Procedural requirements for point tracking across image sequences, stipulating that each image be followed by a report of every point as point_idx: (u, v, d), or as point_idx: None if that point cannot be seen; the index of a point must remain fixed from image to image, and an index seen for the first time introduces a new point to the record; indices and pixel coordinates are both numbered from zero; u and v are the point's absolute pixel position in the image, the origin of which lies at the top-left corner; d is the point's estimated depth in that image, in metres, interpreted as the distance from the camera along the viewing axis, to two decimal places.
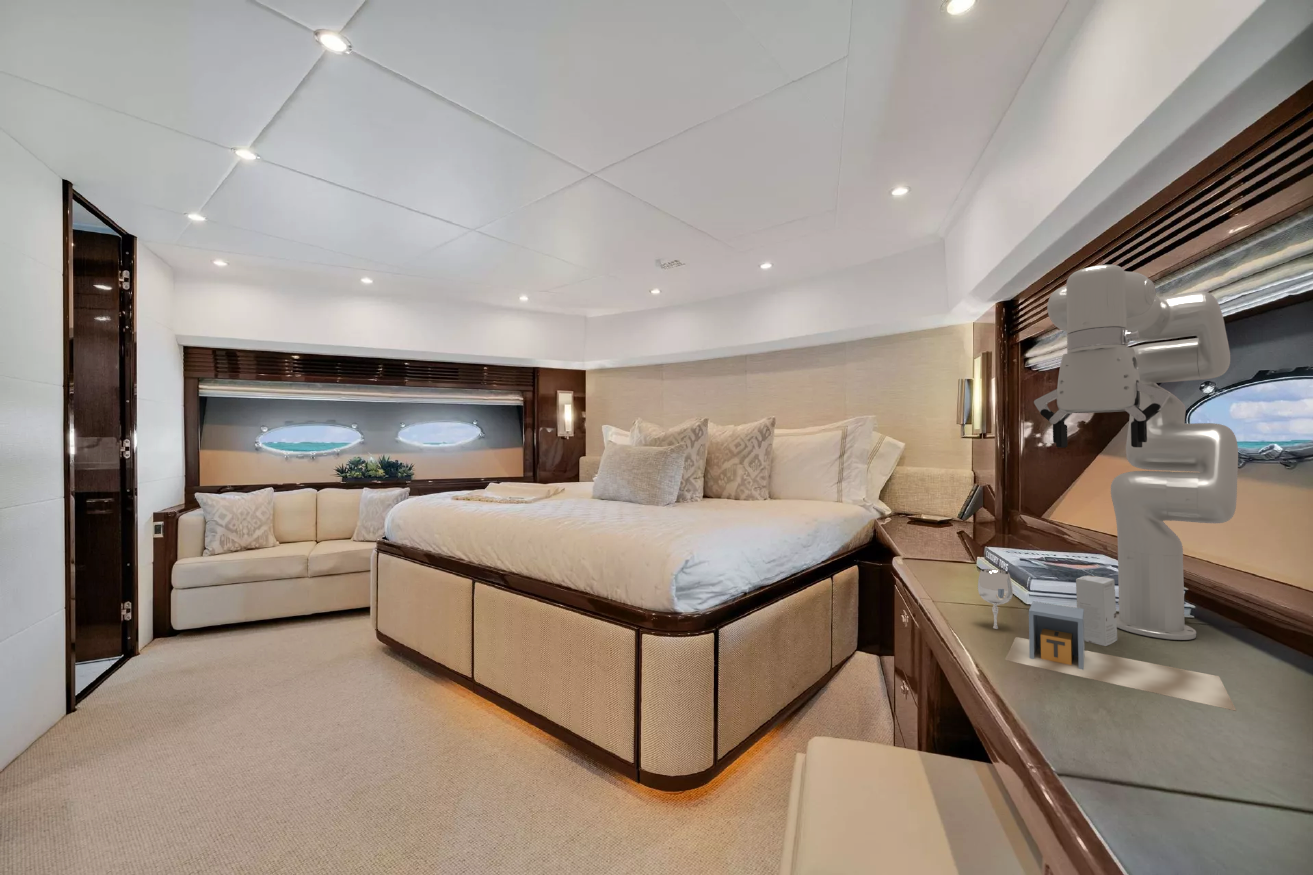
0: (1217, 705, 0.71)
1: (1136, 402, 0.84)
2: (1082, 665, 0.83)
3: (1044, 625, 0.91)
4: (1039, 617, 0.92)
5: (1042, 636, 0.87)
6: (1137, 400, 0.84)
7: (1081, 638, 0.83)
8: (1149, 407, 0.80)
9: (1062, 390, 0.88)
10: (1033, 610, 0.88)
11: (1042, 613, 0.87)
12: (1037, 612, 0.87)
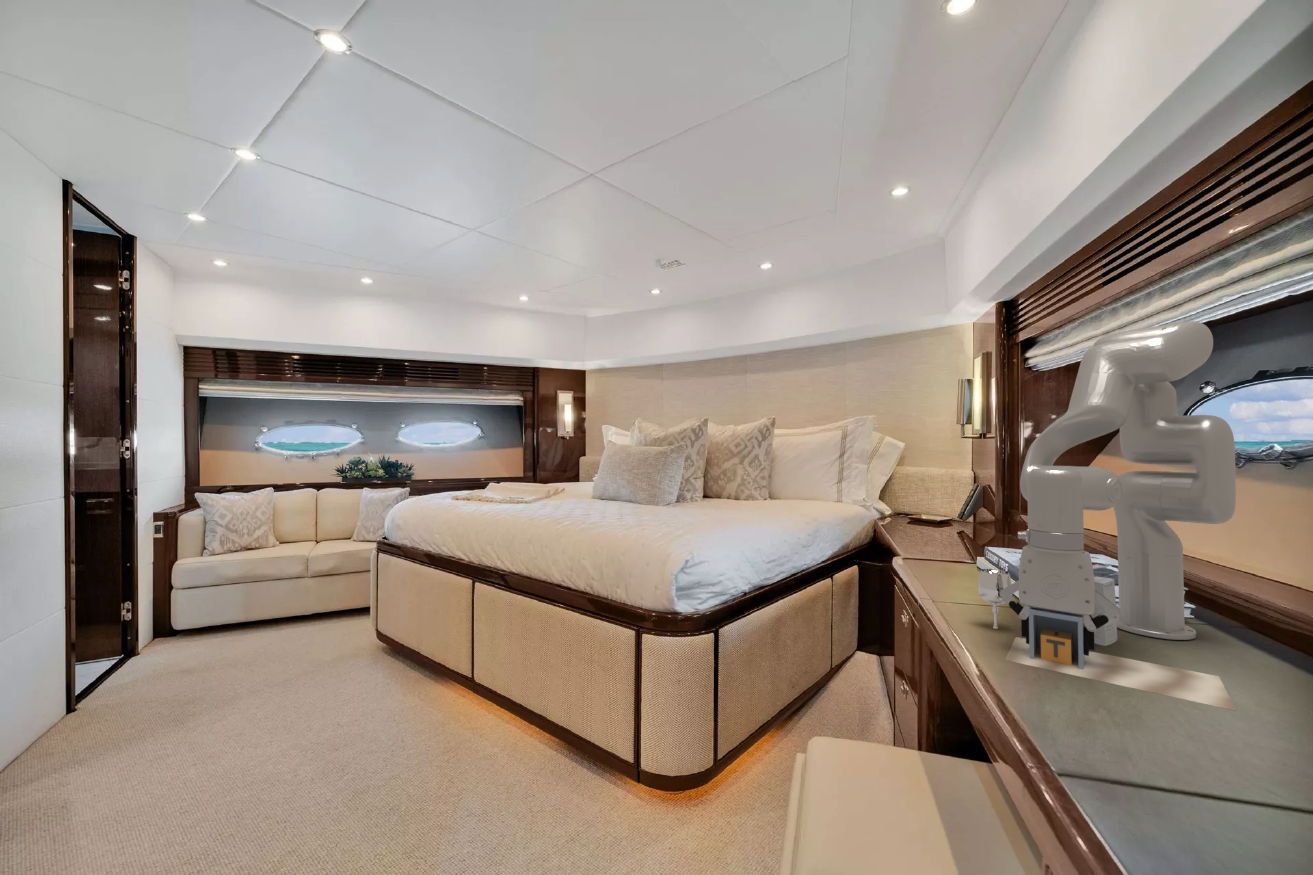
0: (1217, 705, 0.71)
1: (1023, 598, 0.89)
2: (1082, 665, 0.83)
3: (1044, 625, 0.91)
4: (1039, 617, 0.92)
5: (1042, 636, 0.87)
6: (1022, 596, 0.89)
7: (1081, 638, 0.83)
8: (1017, 603, 0.92)
9: None
10: (1033, 610, 0.88)
11: (1042, 613, 0.87)
12: (1037, 612, 0.87)
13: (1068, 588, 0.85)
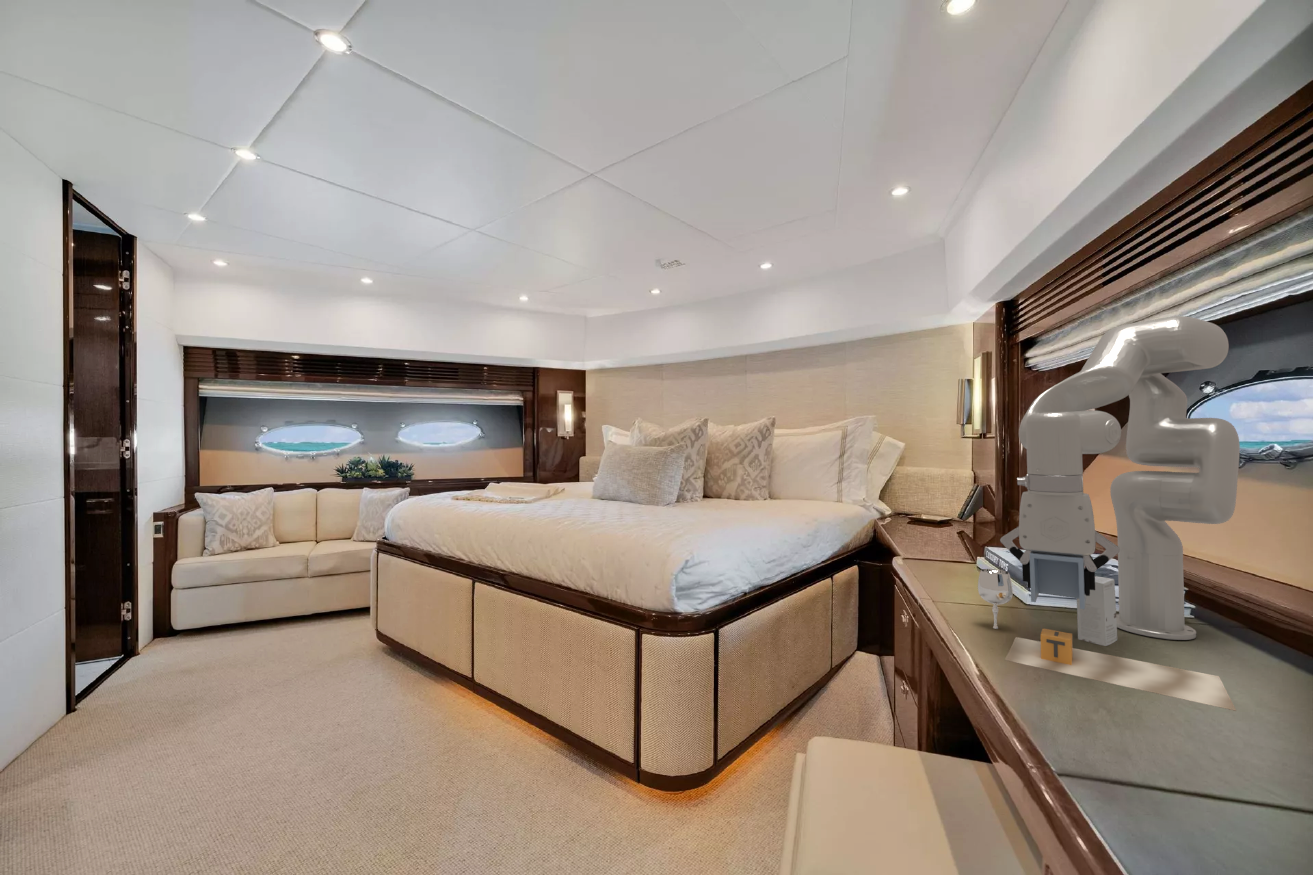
0: (1217, 705, 0.71)
1: (1023, 543, 0.89)
2: (1083, 605, 0.84)
3: (1045, 570, 0.92)
4: (1040, 563, 0.92)
5: (1042, 636, 0.87)
6: (1022, 541, 0.89)
7: (1082, 578, 0.84)
8: (1018, 549, 0.93)
9: None
10: (1034, 554, 0.88)
11: (1043, 556, 0.87)
12: (1038, 555, 0.87)
13: (1068, 530, 0.85)
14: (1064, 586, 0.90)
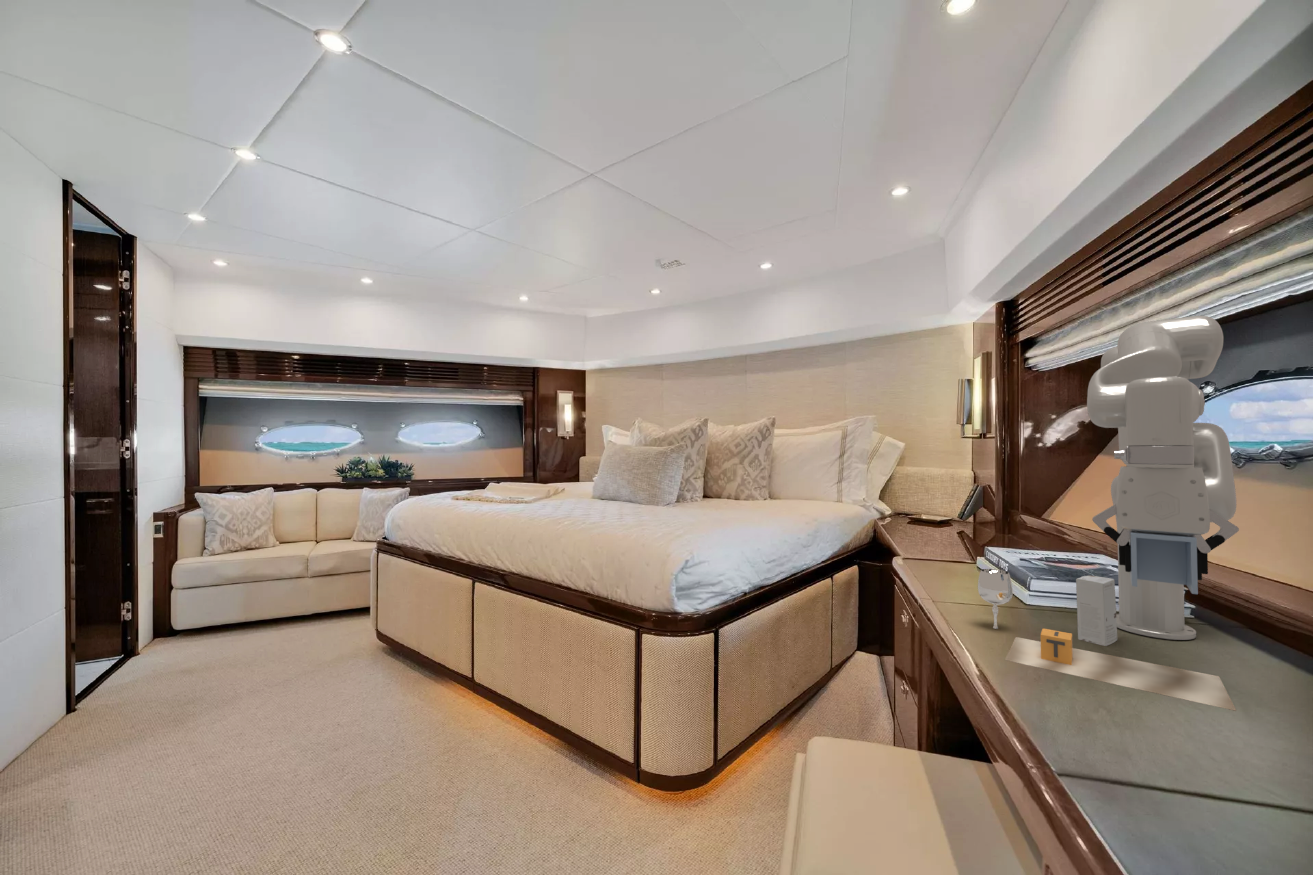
0: (1217, 705, 0.71)
1: (1123, 521, 0.81)
2: (1196, 589, 0.75)
3: (1143, 553, 0.83)
4: (1137, 545, 0.84)
5: (1042, 636, 0.87)
6: (1122, 519, 0.81)
7: (1195, 559, 0.75)
8: None
9: None
10: (1136, 533, 0.80)
11: (1147, 535, 0.78)
12: (1141, 535, 0.79)
13: (1178, 506, 0.77)
14: (1166, 571, 0.82)
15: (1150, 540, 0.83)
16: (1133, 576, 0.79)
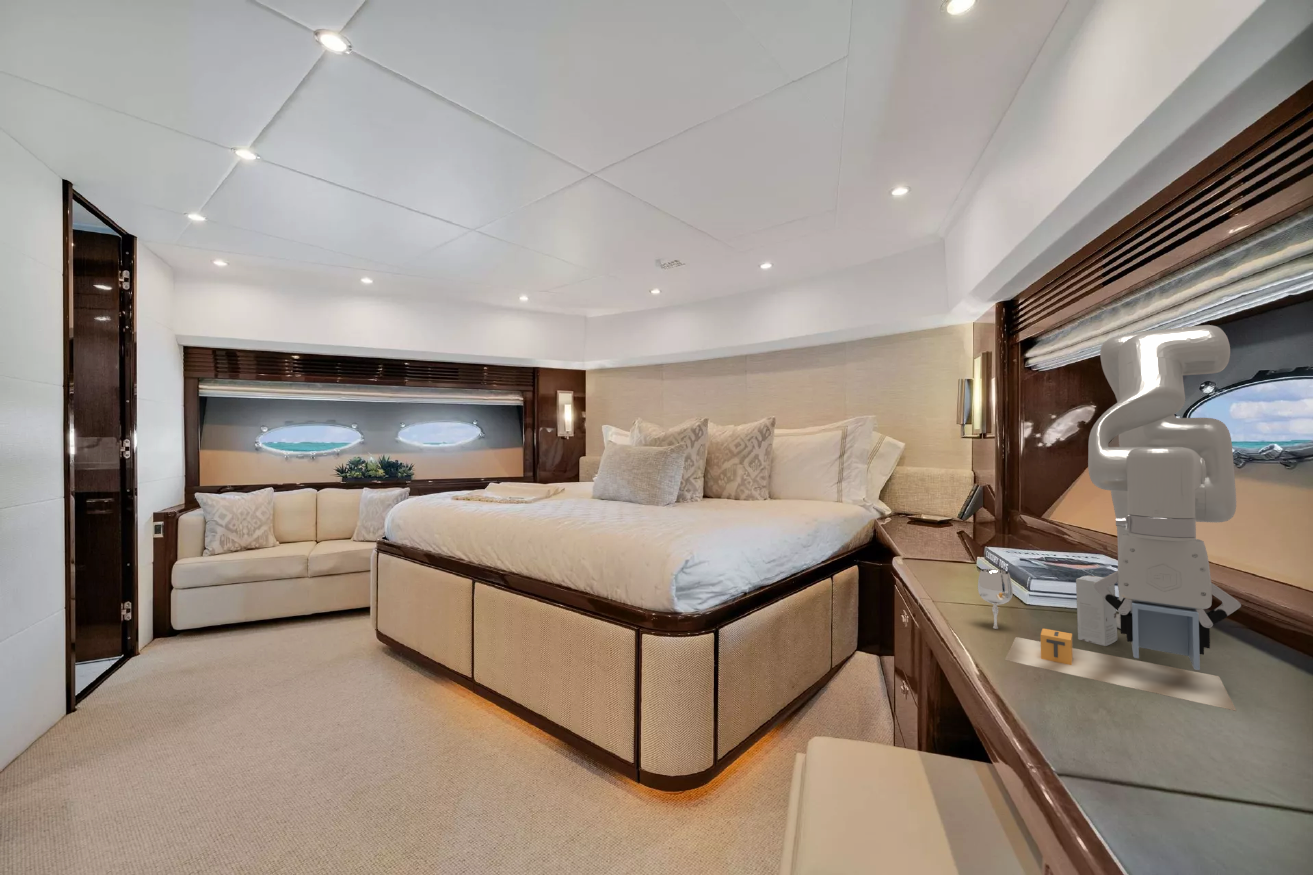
0: (1217, 705, 0.71)
1: (1124, 591, 0.81)
2: (1198, 665, 0.75)
3: (1145, 621, 0.83)
4: (1139, 613, 0.83)
5: (1042, 636, 0.87)
6: (1123, 589, 0.81)
7: (1197, 635, 0.75)
8: None
9: None
10: (1137, 604, 0.79)
11: (1149, 607, 0.78)
12: (1143, 606, 0.78)
13: (1180, 579, 0.77)
14: (1168, 640, 0.81)
15: None
16: (1135, 647, 0.79)
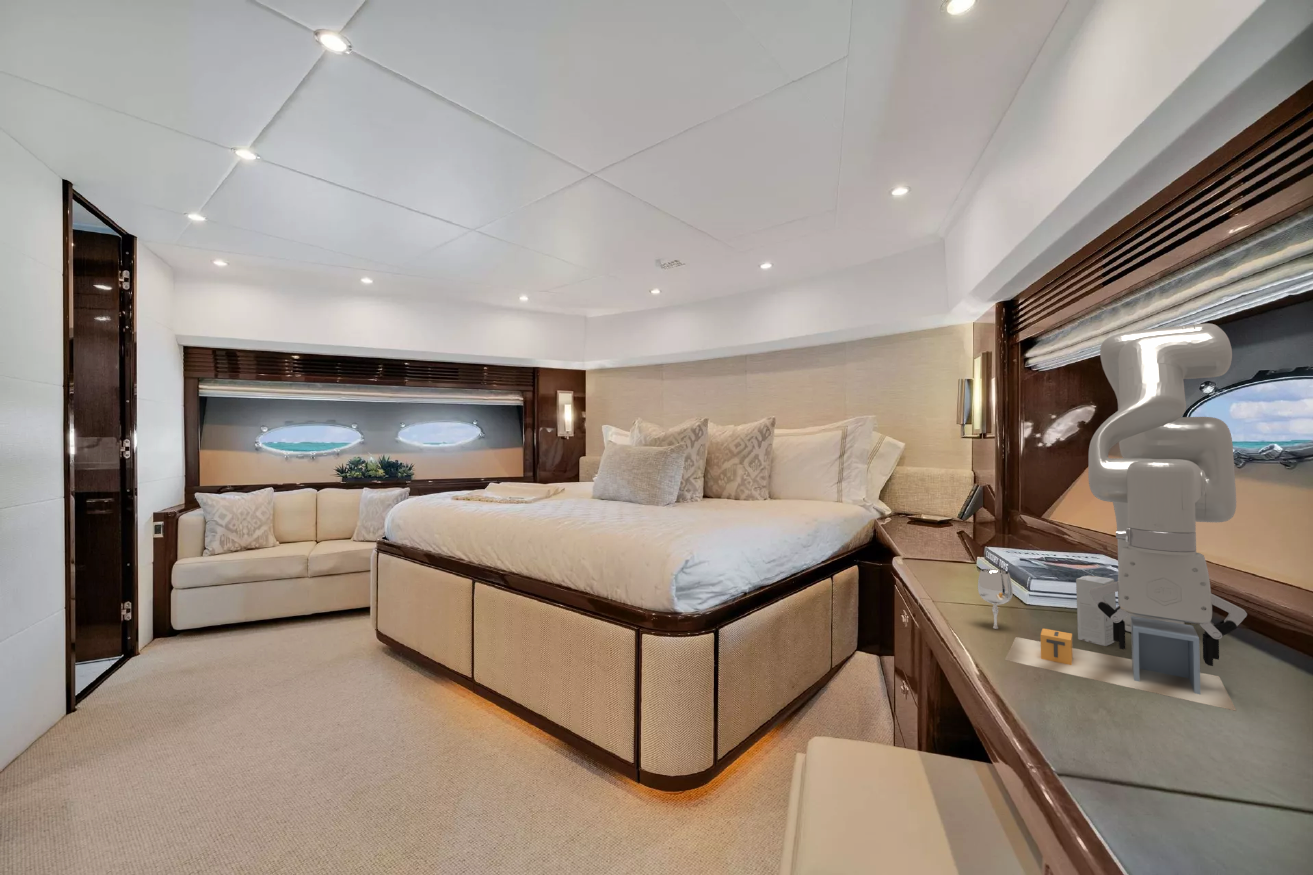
0: (1217, 705, 0.71)
1: (1124, 604, 0.81)
2: (1199, 689, 0.75)
3: (1145, 643, 0.83)
4: (1139, 634, 0.83)
5: (1042, 636, 0.87)
6: (1123, 602, 0.81)
7: (1197, 659, 0.75)
8: None
9: None
10: (1138, 627, 0.79)
11: (1149, 631, 0.78)
12: (1143, 629, 0.79)
13: (1180, 593, 0.77)
14: (1168, 662, 0.81)
15: None
16: (1135, 671, 0.79)
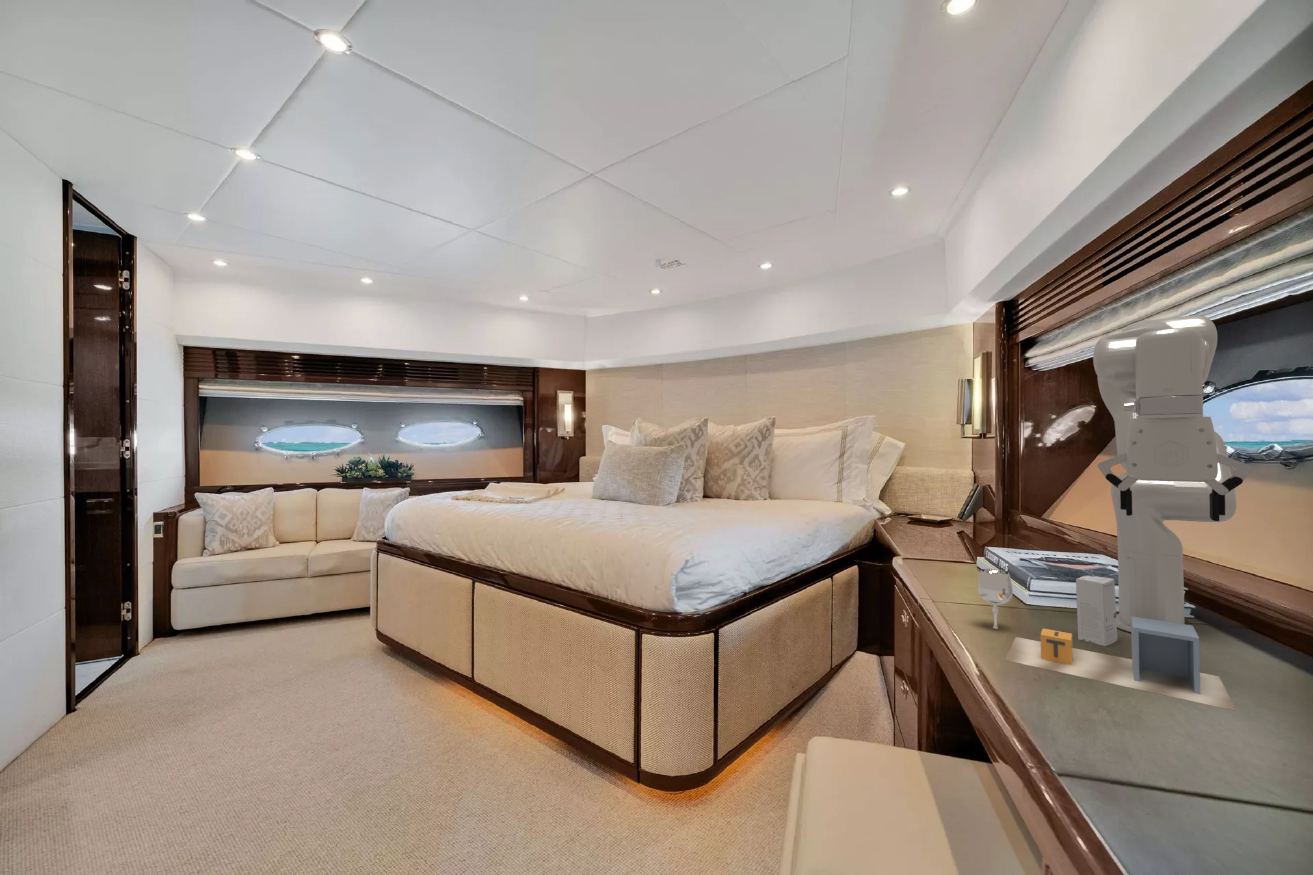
0: (1217, 705, 0.71)
1: (1132, 471, 0.83)
2: (1199, 689, 0.75)
3: (1145, 643, 0.83)
4: (1139, 634, 0.83)
5: (1042, 636, 0.87)
6: (1131, 469, 0.83)
7: (1197, 659, 0.75)
8: None
9: None
10: (1138, 627, 0.79)
11: (1149, 631, 0.78)
12: (1143, 629, 0.79)
13: (1187, 454, 0.79)
14: (1168, 662, 0.81)
15: None
16: (1135, 671, 0.79)
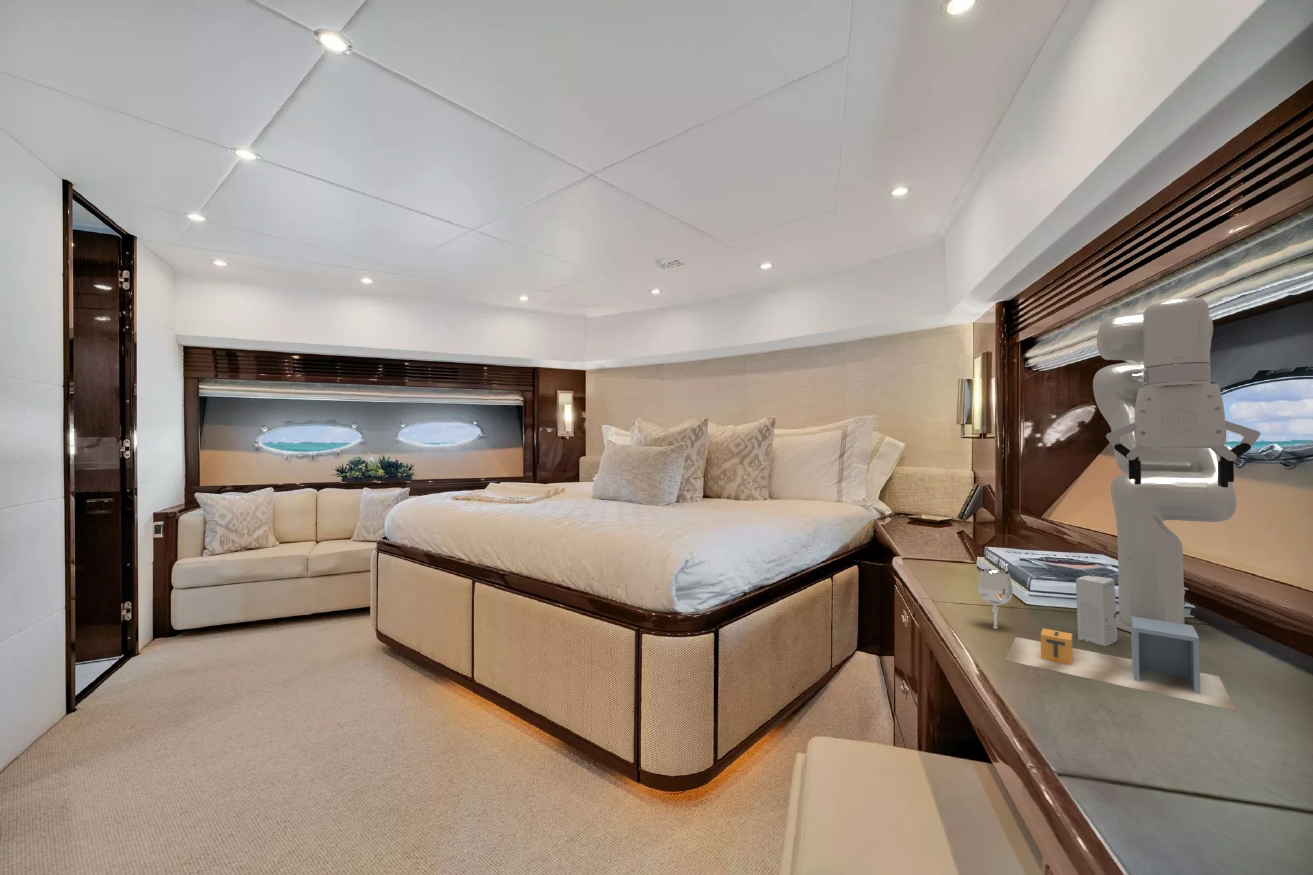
0: (1217, 705, 0.71)
1: (1141, 440, 0.84)
2: (1199, 689, 0.75)
3: (1145, 643, 0.83)
4: (1139, 634, 0.83)
5: (1042, 636, 0.87)
6: (1140, 438, 0.84)
7: (1197, 659, 0.75)
8: None
9: None
10: (1138, 627, 0.79)
11: (1149, 631, 0.78)
12: (1143, 629, 0.79)
13: (1195, 421, 0.80)
14: (1168, 662, 0.81)
15: None
16: (1135, 671, 0.79)
